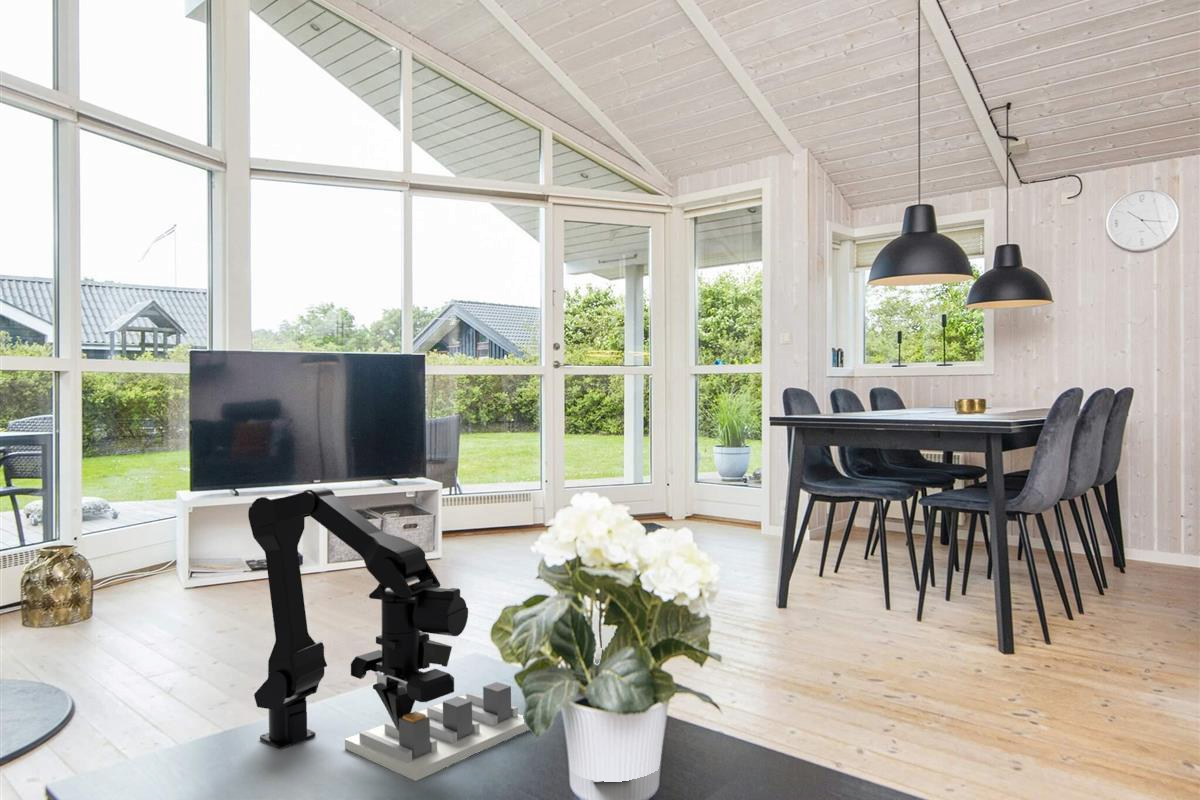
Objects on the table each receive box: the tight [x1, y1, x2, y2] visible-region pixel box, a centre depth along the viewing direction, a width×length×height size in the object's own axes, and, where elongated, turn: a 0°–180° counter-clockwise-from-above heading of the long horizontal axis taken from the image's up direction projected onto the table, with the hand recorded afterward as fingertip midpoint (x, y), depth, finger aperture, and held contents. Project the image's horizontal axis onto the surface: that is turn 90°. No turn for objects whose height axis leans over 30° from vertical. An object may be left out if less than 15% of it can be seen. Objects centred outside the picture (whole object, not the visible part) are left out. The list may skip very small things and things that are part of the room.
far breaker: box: [482, 681, 512, 722], centre depth 135 cm, size 4×3×5 cm
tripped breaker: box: [399, 711, 430, 758], centre depth 122 cm, size 4×3×5 cm
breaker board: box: [344, 691, 530, 782], centre depth 131 cm, size 18×24×3 cm
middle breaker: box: [442, 696, 472, 739], centre depth 128 cm, size 4×3×5 cm
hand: (401, 730), depth 124 cm, fingers closed
